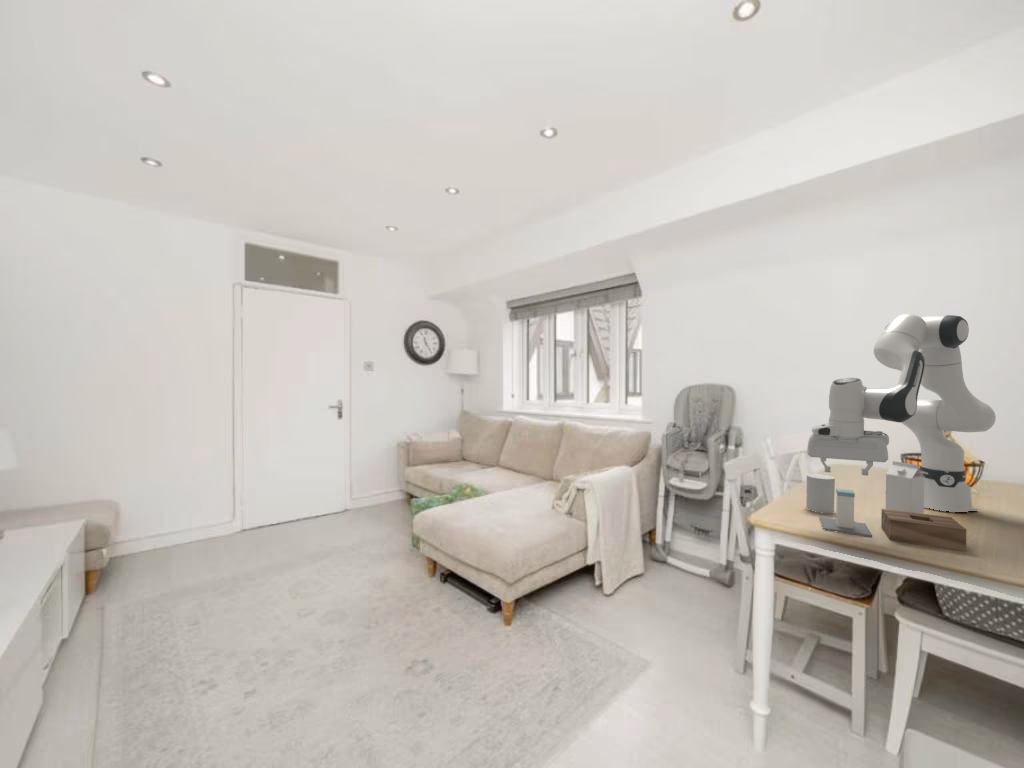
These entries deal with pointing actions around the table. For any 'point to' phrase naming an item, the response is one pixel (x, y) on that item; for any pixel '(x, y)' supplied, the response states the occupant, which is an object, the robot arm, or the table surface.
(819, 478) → the cup
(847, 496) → the plug
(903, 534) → the block
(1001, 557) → the table surface
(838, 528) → the mat
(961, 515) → the table surface
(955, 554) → the table surface
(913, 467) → the milk carton
